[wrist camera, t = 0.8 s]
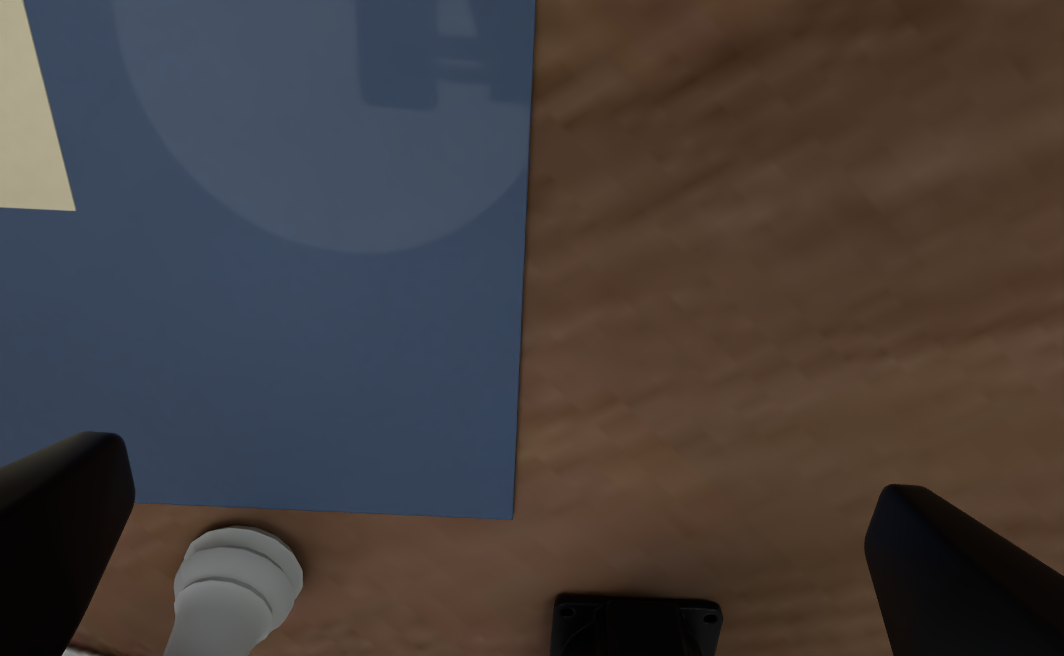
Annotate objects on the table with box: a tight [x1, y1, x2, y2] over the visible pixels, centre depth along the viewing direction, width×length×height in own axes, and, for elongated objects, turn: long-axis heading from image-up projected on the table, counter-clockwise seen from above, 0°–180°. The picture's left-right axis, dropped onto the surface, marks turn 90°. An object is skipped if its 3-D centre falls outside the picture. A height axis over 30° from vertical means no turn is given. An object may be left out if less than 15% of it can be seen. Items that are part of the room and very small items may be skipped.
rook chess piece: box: [163, 525, 303, 656], centre depth 25 cm, size 4×4×8 cm
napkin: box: [0, 0, 536, 520], centre depth 22 cm, size 18×20×1 cm
